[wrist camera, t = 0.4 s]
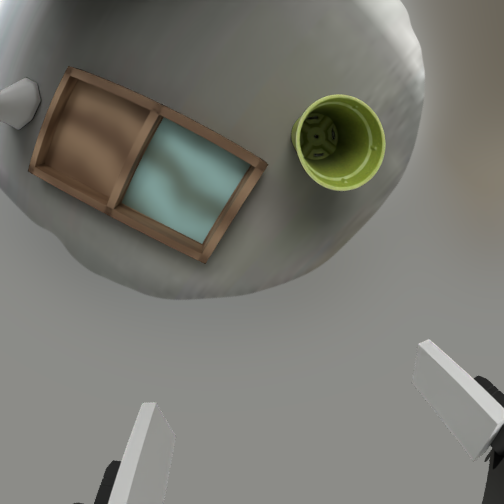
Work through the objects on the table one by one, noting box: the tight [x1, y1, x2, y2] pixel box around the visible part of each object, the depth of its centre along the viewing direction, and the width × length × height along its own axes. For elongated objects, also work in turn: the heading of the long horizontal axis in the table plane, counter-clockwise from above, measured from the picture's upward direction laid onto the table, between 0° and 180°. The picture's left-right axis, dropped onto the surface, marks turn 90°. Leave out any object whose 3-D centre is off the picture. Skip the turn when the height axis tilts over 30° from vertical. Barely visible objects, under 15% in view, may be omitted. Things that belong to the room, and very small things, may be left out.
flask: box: [0, 77, 41, 130], centre depth 18 cm, size 7×7×10 cm
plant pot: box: [291, 95, 385, 191], centre depth 27 cm, size 9×9×9 cm
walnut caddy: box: [28, 66, 268, 264], centre depth 28 cm, size 14×27×3 cm, turn 58°
